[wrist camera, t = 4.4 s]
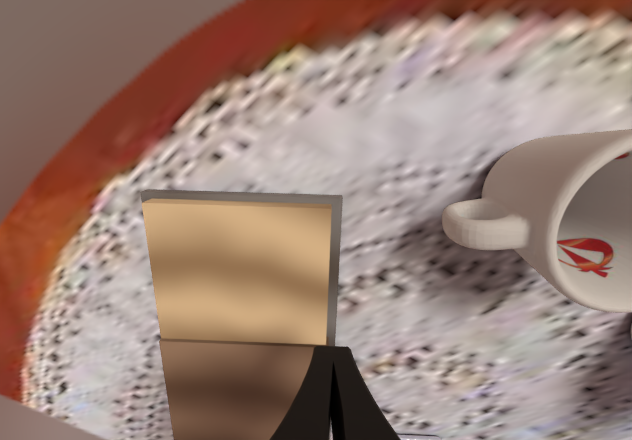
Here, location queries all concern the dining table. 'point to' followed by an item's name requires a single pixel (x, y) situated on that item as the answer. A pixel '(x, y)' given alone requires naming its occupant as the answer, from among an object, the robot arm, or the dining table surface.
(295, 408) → the robot arm
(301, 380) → the floor board
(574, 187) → the cup
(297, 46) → the dining table surface
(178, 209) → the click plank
